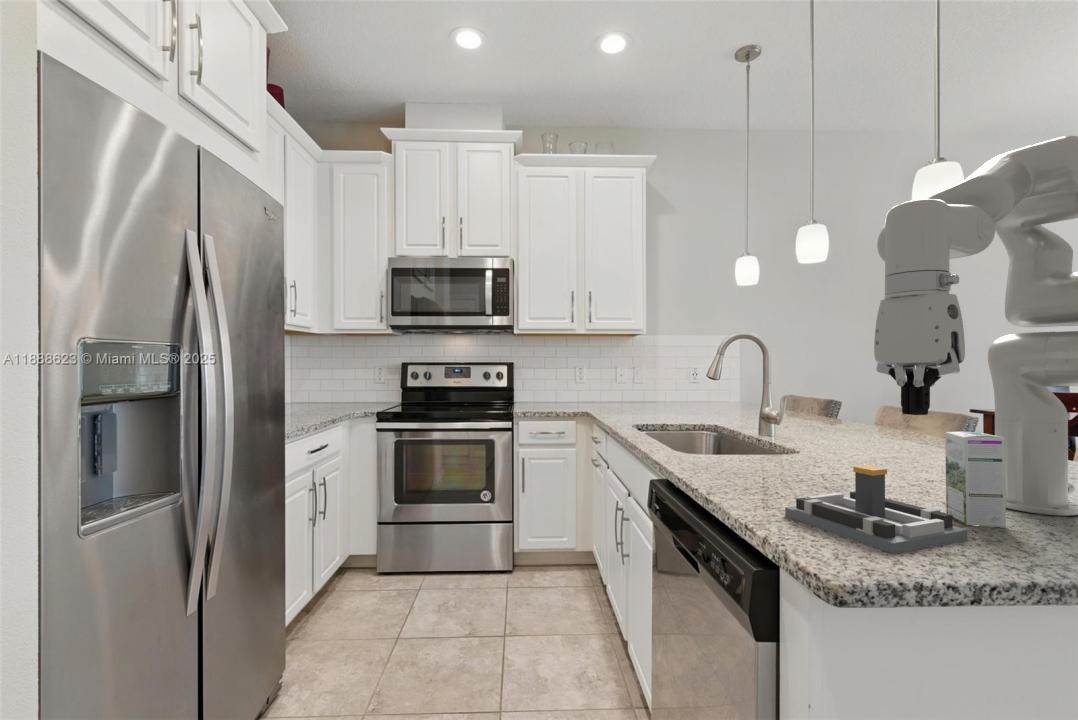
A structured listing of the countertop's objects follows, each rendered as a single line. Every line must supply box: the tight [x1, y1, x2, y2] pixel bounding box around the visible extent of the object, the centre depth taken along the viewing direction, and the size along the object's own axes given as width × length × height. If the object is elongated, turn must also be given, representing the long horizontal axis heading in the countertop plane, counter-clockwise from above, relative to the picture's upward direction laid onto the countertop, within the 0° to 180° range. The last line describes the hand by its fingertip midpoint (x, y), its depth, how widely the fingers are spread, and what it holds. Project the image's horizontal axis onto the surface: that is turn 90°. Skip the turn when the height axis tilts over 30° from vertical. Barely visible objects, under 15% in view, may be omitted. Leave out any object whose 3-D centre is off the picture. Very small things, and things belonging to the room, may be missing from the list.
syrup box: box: [944, 430, 1007, 529], centre depth 82 cm, size 6×6×14 cm
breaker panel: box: [784, 492, 969, 555], centre depth 79 cm, size 16×18×3 cm
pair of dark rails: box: [795, 491, 954, 539], centre depth 79 cm, size 15×15×2 cm
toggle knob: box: [852, 464, 888, 518], centre depth 79 cm, size 3×3×8 cm
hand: (915, 414), depth 73 cm, fingers closed
